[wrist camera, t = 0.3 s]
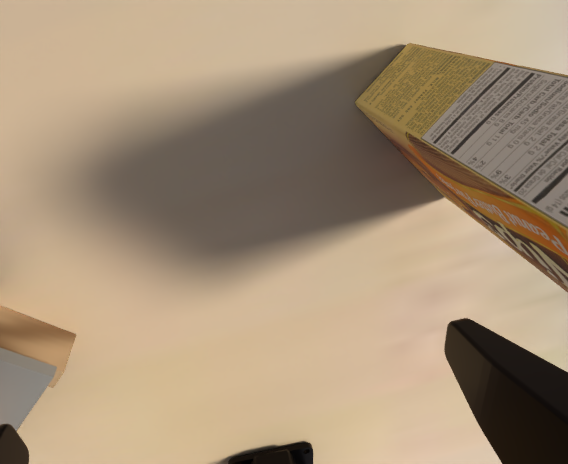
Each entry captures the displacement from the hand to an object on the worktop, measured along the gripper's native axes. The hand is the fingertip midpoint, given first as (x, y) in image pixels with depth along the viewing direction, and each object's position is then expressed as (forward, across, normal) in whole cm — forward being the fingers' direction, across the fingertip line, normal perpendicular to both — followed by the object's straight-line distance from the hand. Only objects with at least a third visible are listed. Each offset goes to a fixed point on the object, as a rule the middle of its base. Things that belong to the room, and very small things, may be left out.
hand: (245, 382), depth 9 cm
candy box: (+15, -12, +1) cm, 19 cm away
